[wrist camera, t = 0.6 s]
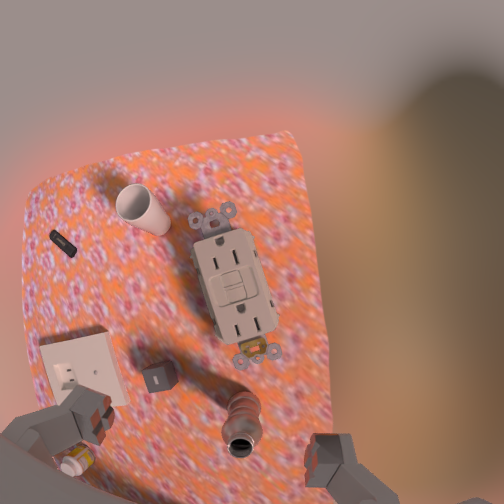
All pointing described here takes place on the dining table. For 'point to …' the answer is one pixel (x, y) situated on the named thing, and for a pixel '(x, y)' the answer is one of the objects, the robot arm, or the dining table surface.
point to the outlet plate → (85, 367)
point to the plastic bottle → (242, 424)
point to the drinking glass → (142, 210)
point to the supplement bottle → (77, 461)
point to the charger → (160, 377)
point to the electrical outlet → (234, 286)
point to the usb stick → (63, 244)
